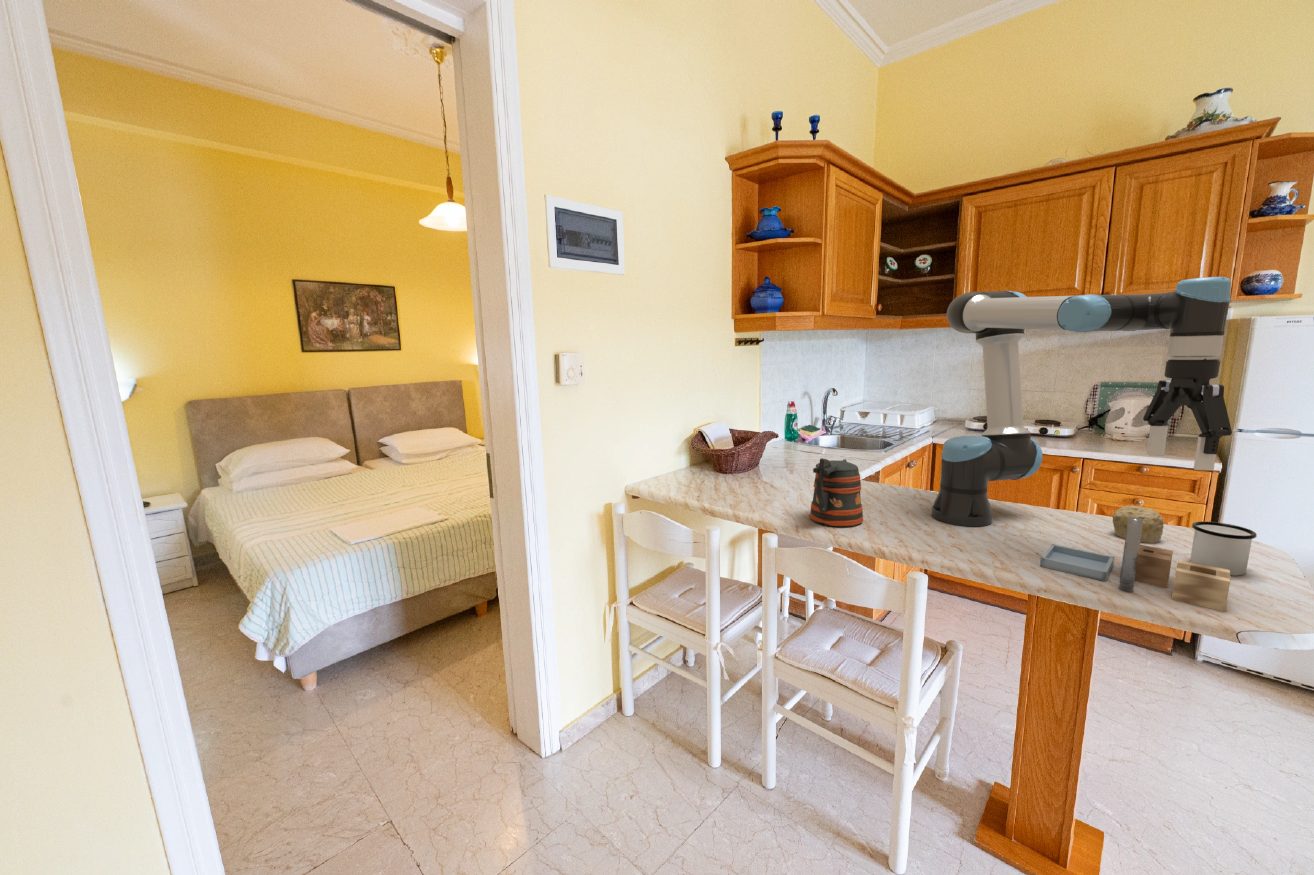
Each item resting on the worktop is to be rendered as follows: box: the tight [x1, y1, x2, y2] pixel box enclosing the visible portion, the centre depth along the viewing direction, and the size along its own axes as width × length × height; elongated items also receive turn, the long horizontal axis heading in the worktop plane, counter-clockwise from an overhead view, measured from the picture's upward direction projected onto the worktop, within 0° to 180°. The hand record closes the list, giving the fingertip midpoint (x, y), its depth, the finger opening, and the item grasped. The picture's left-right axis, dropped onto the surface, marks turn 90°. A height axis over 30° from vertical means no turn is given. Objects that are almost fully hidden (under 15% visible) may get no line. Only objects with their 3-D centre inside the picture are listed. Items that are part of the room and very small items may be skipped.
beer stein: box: [809, 458, 864, 528], centre depth 147 cm, size 19×15×20 cm
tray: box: [1039, 543, 1115, 582], centre depth 115 cm, size 11×11×2 cm
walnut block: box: [1135, 544, 1174, 589], centre depth 108 cm, size 7×7×6 cm
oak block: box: [1171, 559, 1231, 613], centre depth 99 cm, size 7×7×6 cm
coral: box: [1112, 505, 1165, 544], centre depth 130 cm, size 9×9×8 cm
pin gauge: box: [1118, 517, 1143, 593], centre depth 102 cm, size 2×2×15 cm
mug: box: [1189, 521, 1258, 577], centre depth 112 cm, size 12×10×9 cm
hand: (1177, 462), depth 106 cm, fingers open, 13 cm apart
